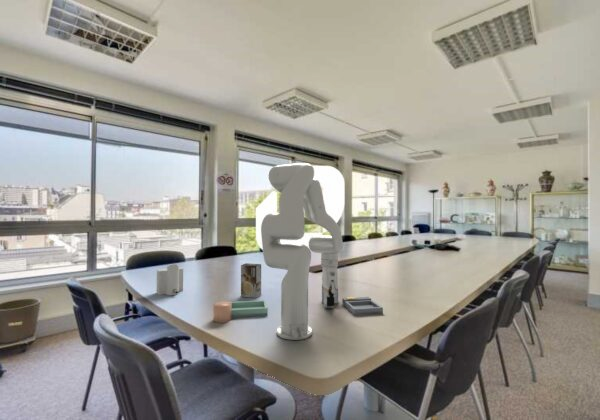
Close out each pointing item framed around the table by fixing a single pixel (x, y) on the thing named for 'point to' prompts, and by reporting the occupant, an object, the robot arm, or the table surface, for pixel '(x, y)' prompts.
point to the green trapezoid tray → (249, 308)
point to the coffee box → (250, 280)
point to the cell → (326, 298)
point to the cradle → (361, 306)
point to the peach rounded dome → (222, 312)
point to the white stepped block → (170, 280)
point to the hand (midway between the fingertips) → (328, 303)
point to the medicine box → (334, 295)
